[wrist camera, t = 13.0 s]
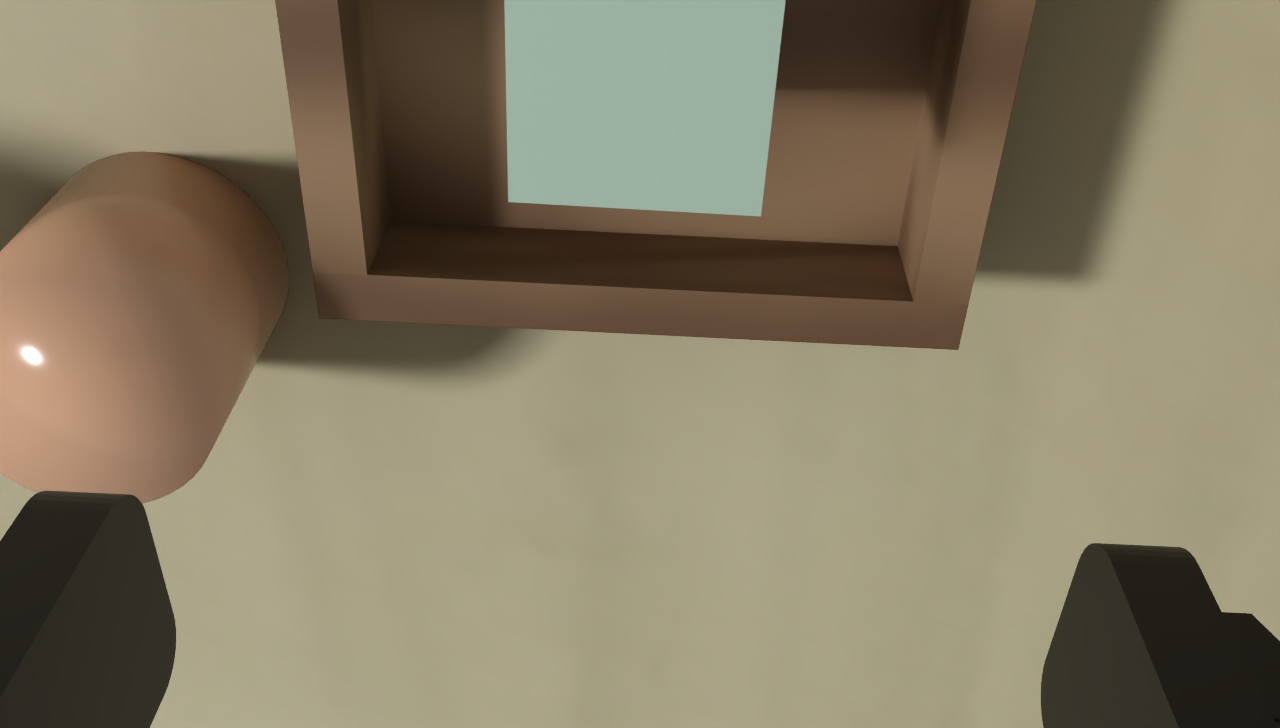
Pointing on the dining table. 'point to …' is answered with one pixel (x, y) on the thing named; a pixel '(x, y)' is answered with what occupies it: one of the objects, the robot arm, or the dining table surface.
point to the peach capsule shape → (132, 325)
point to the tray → (648, 239)
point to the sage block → (641, 102)
